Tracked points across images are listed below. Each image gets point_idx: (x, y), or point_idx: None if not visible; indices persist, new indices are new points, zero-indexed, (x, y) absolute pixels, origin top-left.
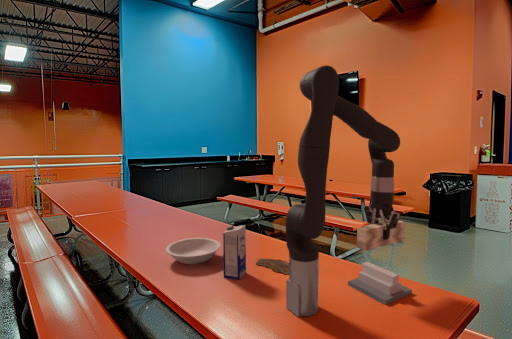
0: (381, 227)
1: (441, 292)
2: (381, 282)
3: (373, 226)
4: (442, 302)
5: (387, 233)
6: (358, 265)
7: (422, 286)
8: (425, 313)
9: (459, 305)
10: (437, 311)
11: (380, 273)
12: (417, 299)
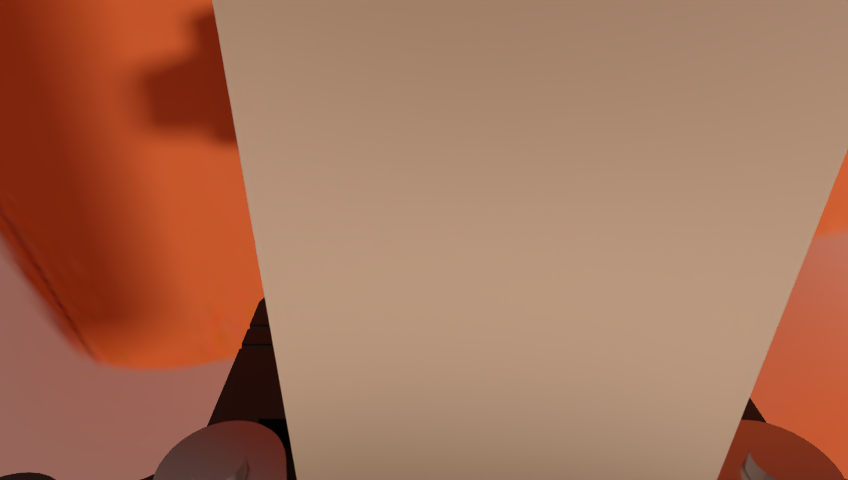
0: (298, 417)
1: (228, 338)
2: None
3: (515, 222)
4: (138, 249)
5: (231, 376)
6: None
7: None
8: (57, 44)
9: (84, 290)
10: (59, 133)
11: None
12: (217, 160)
